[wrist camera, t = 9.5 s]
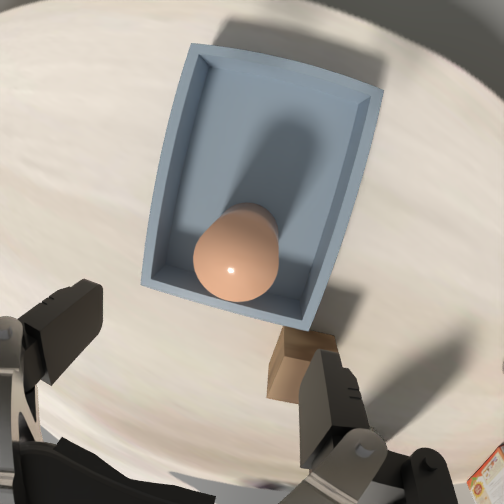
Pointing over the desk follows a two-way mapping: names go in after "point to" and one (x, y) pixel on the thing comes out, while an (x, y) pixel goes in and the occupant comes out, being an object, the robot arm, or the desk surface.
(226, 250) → the tan capsule
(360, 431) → the robot arm
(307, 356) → the walnut cube
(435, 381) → the desk surface
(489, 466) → the cracker box
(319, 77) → the tote
